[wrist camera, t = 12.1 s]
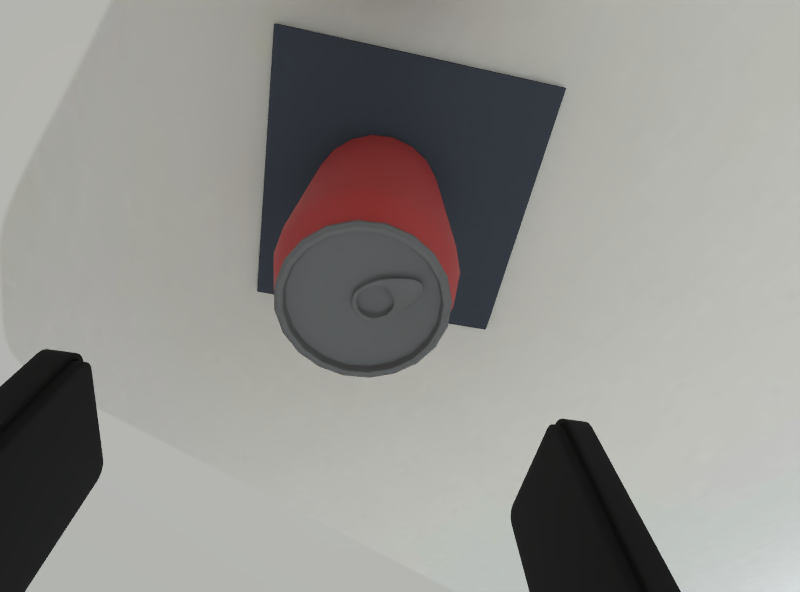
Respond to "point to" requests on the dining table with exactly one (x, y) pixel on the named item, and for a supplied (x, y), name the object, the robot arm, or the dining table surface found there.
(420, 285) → the beer can
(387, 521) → the dining table surface
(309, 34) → the mat
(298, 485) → the dining table surface
